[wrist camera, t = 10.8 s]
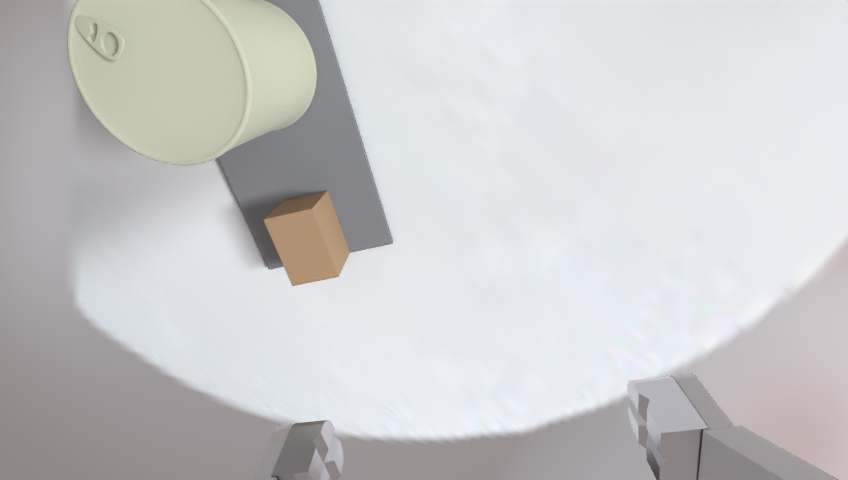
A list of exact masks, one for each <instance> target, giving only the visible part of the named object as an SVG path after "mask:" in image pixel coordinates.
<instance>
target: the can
mask: <svg viewBox="0 0 848 480" xmlns="http://www.w3.org/2000/svg"><path fill="white" fill-rule="evenodd" d="M67 49H68V57H69V62H70V67H71V71H72V74H73V77H74V80H75V82H76V85H77V87H78V89H79V92H80V93H81V95H82V97H83V99H84V101H85V103H86V104H87V106H88V107H89V109H90V110H91V112H92V113H93V114H94V116H95V117H96V118H97V119H98V121H99V122H100V123H101V124H102V125H103V126H104V127H105V128H106V129H107V130H108V131H109V132H110V133H111V134H112V135H113V136H114V137H115V138H116V139H118V140H119V141H120V142H122V143H123V144H124V145H126V146H127V147H129V148H130V149H132V150H133V151H135V152H137V153H139V154H141V155H143V156H145V157H147V158H150V159H152V160H155V161H159V162H162V163H167V164H172V165H196V164H201V163H205V162H209V161H211V160H214V159H216V158H218V157H219V156H221V155H223V154H224V153H226V152H227V151H229V150H231V149H233V148H235V147H237V146H239V145H241V144H243V143H245V142H247V141H250V140H252V139H254V138H256V137H259V136H261V135H263V134H265V133H268V132H270V131H274V130H279V129H282V128H285V127H287V126H289V125H291V124H293V123H294V122H296V121H297V120H298V119H299V118H300V117H301V116H302V115H303V114H304V113H305V112H306V110H307V109H308V107H309V105H310V104H311V101H312V99H313V96H314V93H315V89H316V82H317V69H316V62H315V57H314V54H313V51H312V48H311V45H310V43H309V41H308V39H307V37H306V35H305V34H304V32H303V31H302V29H301V28H300V27H299V25H298V24H297V23H296V22H295V21H294V20H293V19H292V18H291V17H290V16H289V15H288V14H287V13H286V12H284V11H283V10H282V9H280V8H278V7H277V6H275V5H273V4H271V3H269V2H267V1H264V0H77V2H76V3H75V5H74V8H73V10H72V12H71V16H70V19H69V25H68V31H67Z"/></svg>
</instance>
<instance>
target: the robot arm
mask: <svg viewBox="0 0 848 480" xmlns="http://www.w3.org/2000/svg"><path fill="white" fill-rule="evenodd" d="M628 394H629V395H630V397H631V399H632V401H631V402H630V403H629V404H628V413H629V419H630V423H631V426H632V429H633V432H634V434H635V437H636V438H637V441H638V442H639V444H641V445H642V446H643V447H645V448H646V449H647V461H648V463H649V465H650V467H651V469H652V471H653V473H654V476H655V478H656V480H838V479H837V478H835V477H833V476H831V475H829V474H827V473H826V472H824V471H822V470H820V469H819V468H817V467H815V466H813V465H811V464H810V463H808V462H806V461H804V460H802V459H801V458H799V457H797V456H795V455H793V454H792V453H790V452H788V451H786V450H784V449H783V448H781V447H779V446H777V445H775V444H774V443H772V442H770V441H768V440H766V439H765V438H763V437H761V436H759V435H757V434H756V433H754V432H752V431H750V430H748V429H746V428H745V427H743V426H734V425H733V423H732V422H731V421H730V420H729V418H728V417H727V416H726V414H725V413H724V412H723V410H722V409H721V408H720V406H719V405H718V404H717V402H716V401H715V400H714V399H713V397H712V396H711V395H710V393H709V392H708V391H707V390H706V388H705V387H704V386H703V384H702V383H701V382H700V380H699V379H698V378H697V376H696V375H694V374H693V373H686V374H678V375H671V376H662V377H655V378H648V379H641V380H633V381H629V383H628ZM333 432H334V427H333V425H332V423H331V421H329V420H325V421H315V422H304V423H295V424H287V425H279V426H278V427H277V428H276V429H275V430H274V431H273V433H272V436H271V438H270V440H269V443H268V445H267V447H266V449H265V452H264V454H263V456H262V459H261V461H260V463H259V465H258V468H257V470H256V472H255V474H254V476H253V479H252V480H337V479H338V478H339V477H340V476H341V473H342V468H343V449H342V445H341V442H340V440H339V439H338V438H336V437H335V436H333Z"/></svg>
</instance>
